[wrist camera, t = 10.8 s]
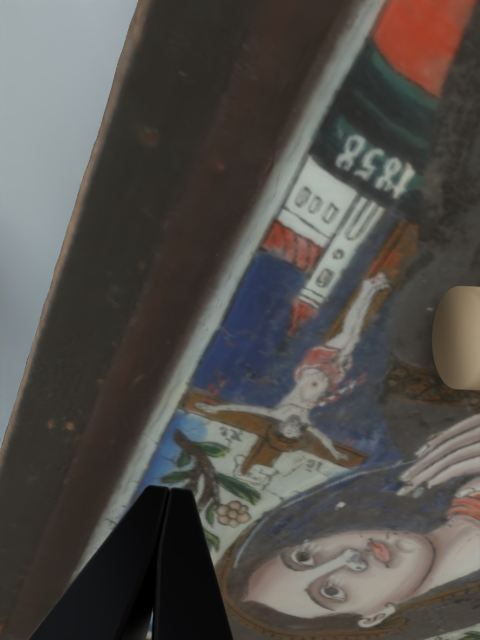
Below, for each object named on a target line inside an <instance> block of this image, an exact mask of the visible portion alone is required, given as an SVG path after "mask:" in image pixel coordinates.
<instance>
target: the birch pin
mask: <svg viewBox="0 0 480 640" xmlns="http://www.w3.org/2000/svg"><path fill="white" fill-rule="evenodd" d="M432 350H433V357H434V362H435V365H436V368H437V371H438V373H439V375H440V377H441V379H442V380H443V382H444V383H445V384H446V385H447V386H449V387H450V388H453V389H463V390H480V287H470V286H456V287H453V288H451V289H450V290H448V291H447V292H446V294H445V295H444V296H443V298H442V299H441V301H440V303H439V305H438V308H437V310H436V314H435V317H434V322H433V330H432Z"/></svg>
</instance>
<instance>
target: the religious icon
mask: <svg viewBox="0 0 480 640" xmlns="http://www.w3.org/2000/svg"><path fill="white" fill-rule="evenodd" d="M456 286H470V287H480V0H138V3H137V7H136V10H135V12H134V15H133V18H132V20H131V23H130V26H129V29H128V33H127V36H126V40H125V43H124V47H123V50H122V53H121V55H120V58H119V61H118V64H117V68H116V72H115V76H114V80H113V84H112V88H111V92H110V95H109V99H108V102H107V106H106V109H105V112H104V115H103V119H102V123H101V126H100V130H99V133H98V136H97V139H96V141H95V143H94V146H93V149H92V153H91V156H90V160H89V163H88V165H87V168H86V171H85V173H84V176H83V179H82V182H81V186H80V189H79V192H78V196H77V199H76V203H75V206H74V210H73V213H72V216H71V219H70V222H69V225H68V228H67V231H66V235H65V238H64V241H63V245H62V248H61V252H60V255H59V258H58V261H57V263H56V266H55V270H54V275H53V279H52V282H51V286H50V290H49V293H48V296H47V298H46V300H45V303H44V306H43V309H42V313H41V317H40V322H39V325H38V328H37V331H36V335H35V339H34V341H33V344H32V347H31V351H30V354H29V356H28V359H27V362H26V367H25V371H24V375H23V378H22V382H21V385H20V388H19V391H18V395H17V399H16V402H15V404H14V407H13V411H12V414H11V417H10V420H9V423H8V426H7V429H6V432H5V436H4V440H3V443H2V447H1V451H0V640H28V639H29V637H30V636H31V635H32V634H33V632H34V631H35V630H36V628H37V627H38V626H39V624H40V623H41V622H42V621H43V619H44V618H45V617H46V615H47V614H48V613H49V612H50V610H51V609H52V608H53V606H54V605H55V604H56V603H57V601H58V600H59V599H60V597H61V596H62V595H63V593H64V592H65V591H66V590H67V588H68V587H69V586H70V584H71V583H72V582H73V581H74V579H75V578H76V577H77V575H78V574H79V573H80V572H81V570H82V569H83V568H84V566H85V565H86V564H87V562H88V561H89V560H90V559H91V557H92V556H93V555H94V553H95V552H96V551H97V550H98V548H99V547H100V546H101V544H102V543H103V542H104V541H105V539H106V538H107V537H108V535H109V534H110V533H111V532H112V530H113V529H114V528H115V526H116V525H117V524H118V522H119V521H120V520H121V519H122V517H123V516H124V515H125V513H126V512H127V511H128V510H129V508H130V507H131V506H132V504H133V503H134V502H135V501H136V499H137V498H138V497H139V495H140V494H141V493H142V491H143V490H144V489H145V488H146V487H147V486H148V485H159V486H167V487H168V488H169V489H171V488H173V487H178V488H188V489H191V490H192V491H193V493H194V497H195V500H196V504H197V507H198V511H199V515H200V518H201V522H202V526H203V529H204V533H205V536H206V540H207V544H208V547H209V551H210V554H211V558H212V562H213V565H214V569H215V573H216V576H217V580H218V583H219V587H220V591H221V594H222V598H223V602H224V605H225V609H226V612H227V616H228V620H229V623H230V627H231V630H232V634H233V638H234V640H480V390H463V389H453V388H450V387H449V386H447V385H446V384H445V383H444V382H443V380H442V379H441V377H440V375H439V373H438V371H437V368H436V365H435V362H434V357H433V350H432V330H433V322H434V317H435V314H436V310H437V308H438V305H439V303H440V301H441V299H442V298H443V296H444V295H445V294H446V292H447V291H448V290H450V289H451V288H453V287H456ZM152 618H153V612H152V617H151V621H150V626H149V630H148V633H147V637H146V640H151V635H152Z"/></svg>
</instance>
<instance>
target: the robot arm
mask: <svg viewBox="0 0 480 640" xmlns="http://www.w3.org/2000/svg"><path fill="white" fill-rule="evenodd" d="M152 612H153V618H152V635H151V640H234V638H233V634H232V630H231V627H230V623H229V620H228V616H227V612H226V609H225V605H224V602H223V598H222V594H221V591H220V587H219V583H218V580H217V576H216V573H215V569H214V565H213V562H212V558H211V554H210V551H209V547H208V544H207V540H206V536H205V533H204V529H203V526H202V522H201V518H200V515H199V511H198V507H197V504H196V500H195V497H194V493H193V491H192V490H191V489H188V488H178V487H173V488H171V489H169V488H168V487H167V486H159V485H148V486H147V487H146V488H145V489H144V490H143V491H142V493H141V494H140V495H139V497H138V498H137V499H136V501H135V502H134V503H133V504H132V506H131V507H130V508H129V510H128V511H127V512H126V513H125V515H124V516H123V517H122V519H121V520H120V521H119V522H118V524H117V525H116V526H115V528H114V529H113V530H112V532H111V533H110V534H109V535H108V537H107V538H106V539H105V541H104V542H103V543H102V544H101V546H100V547H99V548H98V550H97V551H96V552H95V553H94V555H93V556H92V557H91V559H90V560H89V561H88V562H87V564H86V565H85V566H84V568H83V569H82V570H81V572H80V573H79V574H78V575H77V577H76V578H75V579H74V581H73V582H72V583H71V584H70V586H69V587H68V588H67V590H66V591H65V592H64V593H63V595H62V596H61V597H60V599H59V600H58V601H57V603H56V604H55V605H54V606H53V608H52V609H51V610H50V612H49V613H48V614H47V615H46V617H45V618H44V619H43V621H42V622H41V623H40V624H39V626H38V627H37V628H36V630H35V631H34V632H33V634H32V635H31V636H30V637H29V639H28V640H146V637H147V633H148V630H149V626H150V621H151V617H152Z"/></svg>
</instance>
